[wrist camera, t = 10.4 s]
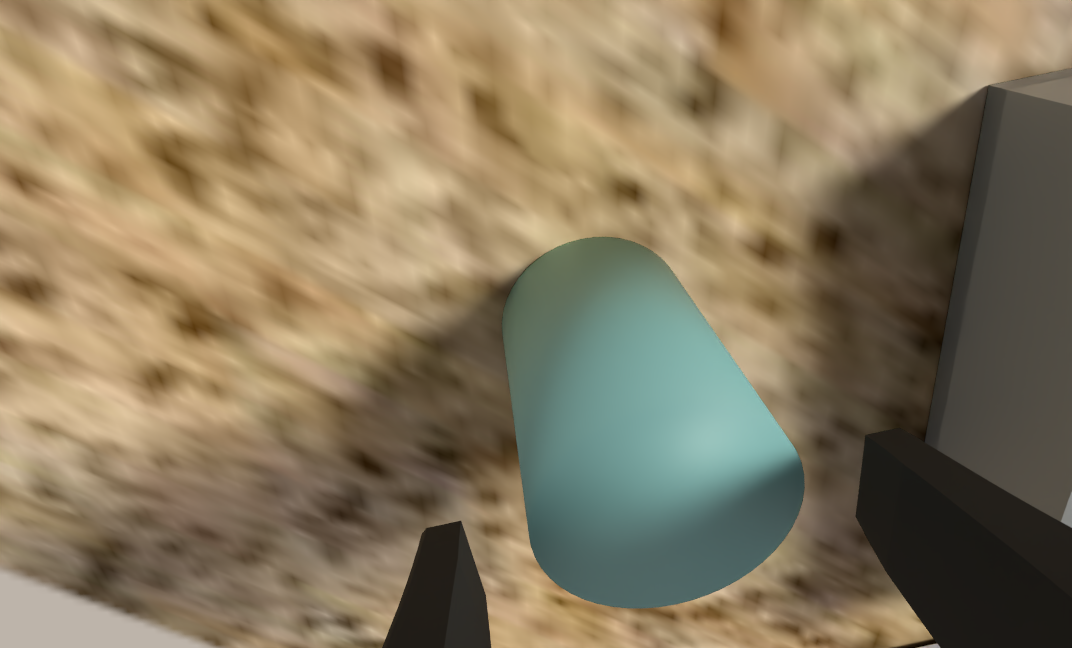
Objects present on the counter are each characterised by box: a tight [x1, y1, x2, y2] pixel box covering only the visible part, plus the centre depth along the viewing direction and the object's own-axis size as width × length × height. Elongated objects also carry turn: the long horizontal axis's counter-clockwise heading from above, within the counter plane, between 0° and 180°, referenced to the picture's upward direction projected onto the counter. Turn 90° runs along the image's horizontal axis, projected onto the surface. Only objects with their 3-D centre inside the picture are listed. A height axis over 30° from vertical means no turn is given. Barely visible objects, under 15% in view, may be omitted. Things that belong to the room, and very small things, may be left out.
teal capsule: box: [502, 237, 805, 608], centre depth 15 cm, size 5×5×7 cm
